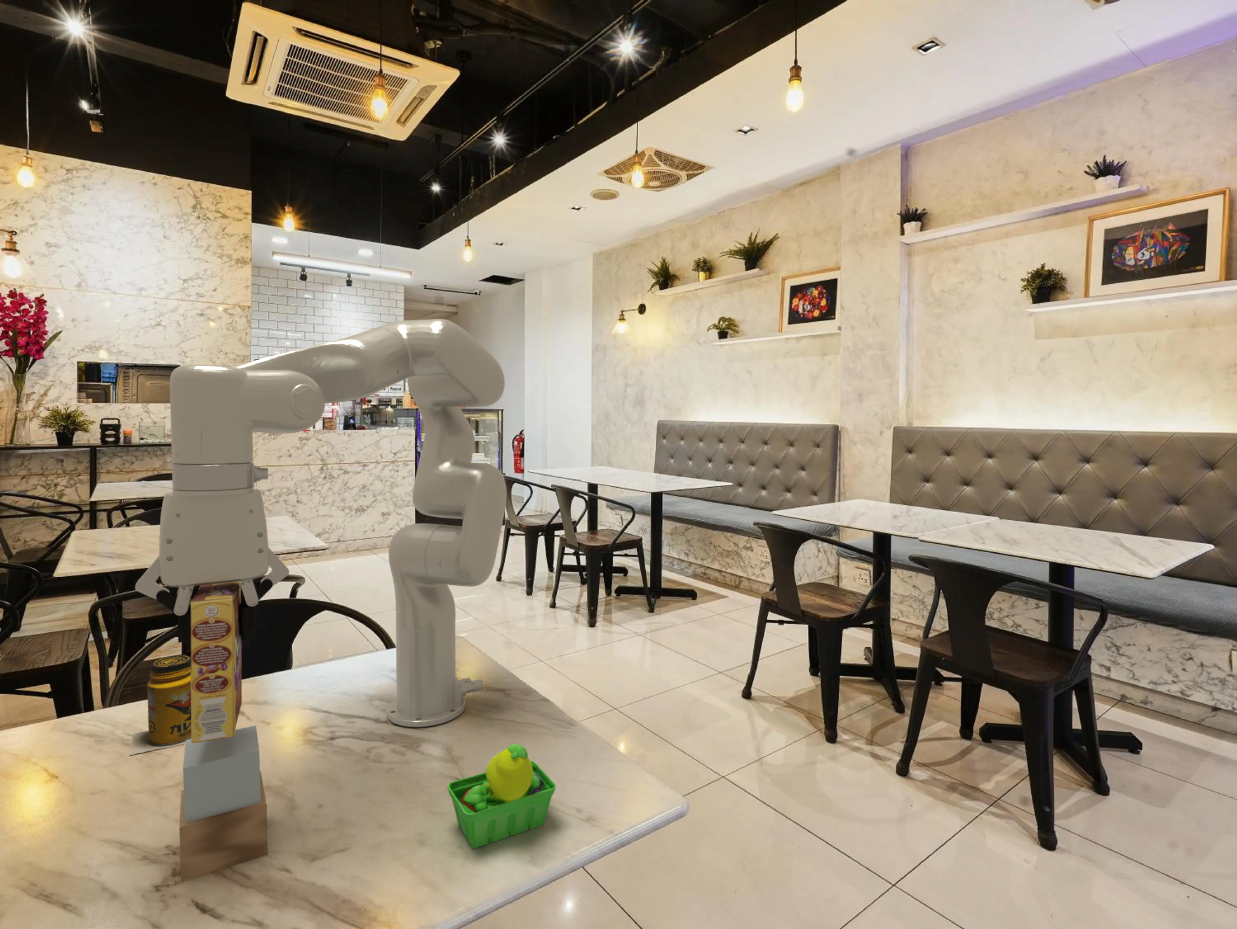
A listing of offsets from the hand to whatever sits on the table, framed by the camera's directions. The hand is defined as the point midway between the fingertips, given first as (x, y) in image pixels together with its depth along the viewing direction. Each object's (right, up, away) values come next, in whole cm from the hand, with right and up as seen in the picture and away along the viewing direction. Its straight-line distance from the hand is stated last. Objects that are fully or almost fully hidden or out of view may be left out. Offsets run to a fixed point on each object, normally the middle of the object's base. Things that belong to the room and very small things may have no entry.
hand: (217, 641), depth 71 cm
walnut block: (0, -24, +2) cm, 24 cm away
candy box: (0, -10, +1) cm, 10 cm away
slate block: (0, -18, +1) cm, 18 cm away
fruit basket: (+31, -24, +6) cm, 40 cm away
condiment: (-24, -22, +26) cm, 42 cm away
